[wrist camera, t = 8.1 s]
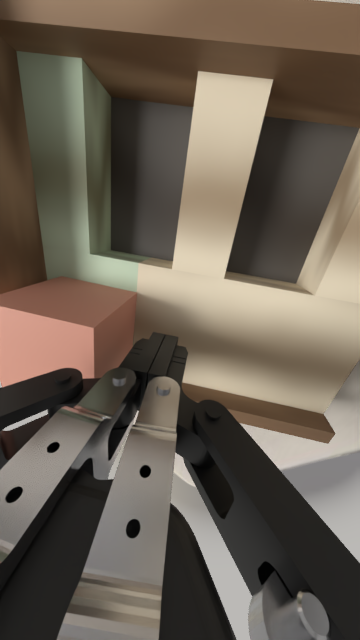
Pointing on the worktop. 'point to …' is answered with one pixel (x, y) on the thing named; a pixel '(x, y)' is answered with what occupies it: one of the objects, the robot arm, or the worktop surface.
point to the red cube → (64, 328)
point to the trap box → (195, 183)
